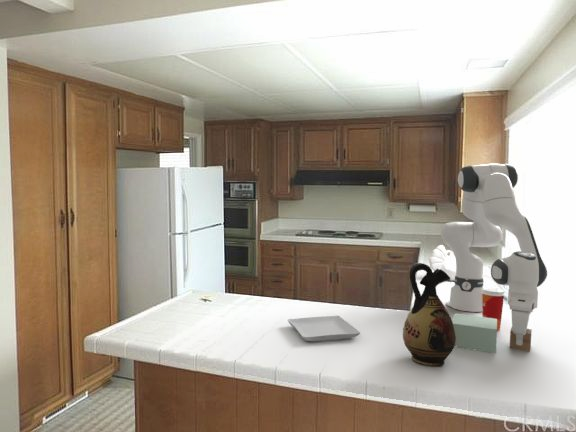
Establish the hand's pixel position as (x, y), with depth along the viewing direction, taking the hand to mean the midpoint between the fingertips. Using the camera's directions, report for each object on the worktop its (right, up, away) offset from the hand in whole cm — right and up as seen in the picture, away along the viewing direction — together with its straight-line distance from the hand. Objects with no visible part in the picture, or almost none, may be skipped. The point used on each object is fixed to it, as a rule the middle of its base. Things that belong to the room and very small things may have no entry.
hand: (520, 340), depth 150 cm
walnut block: (0, -2, 0) cm, 2 cm away
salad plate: (-66, -1, +10) cm, 67 cm away
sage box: (-15, -2, +3) cm, 15 cm away
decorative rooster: (+16, +4, +116) cm, 117 cm away
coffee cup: (-1, -1, +20) cm, 20 cm away
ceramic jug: (-37, -2, -14) cm, 39 cm away
